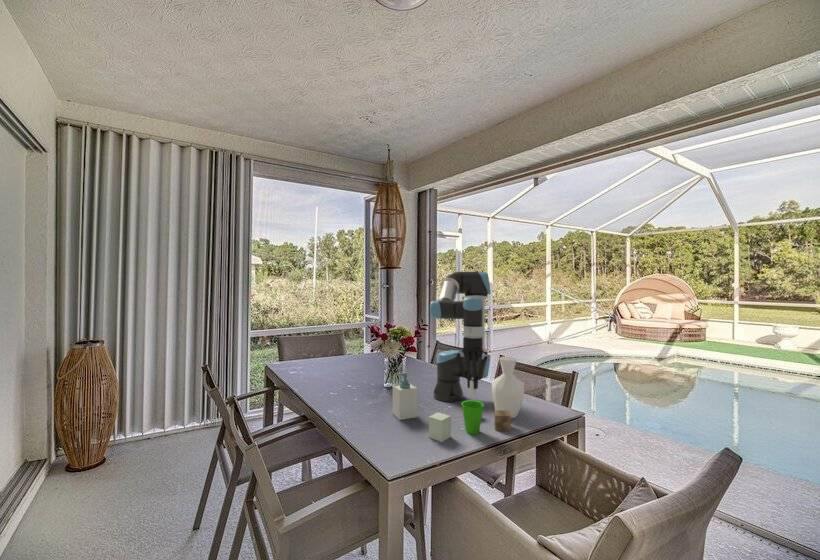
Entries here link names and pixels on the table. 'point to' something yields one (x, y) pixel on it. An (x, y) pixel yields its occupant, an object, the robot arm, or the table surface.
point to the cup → (472, 415)
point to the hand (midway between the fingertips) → (472, 396)
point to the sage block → (439, 426)
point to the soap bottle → (405, 399)
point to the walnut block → (502, 420)
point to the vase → (508, 388)
